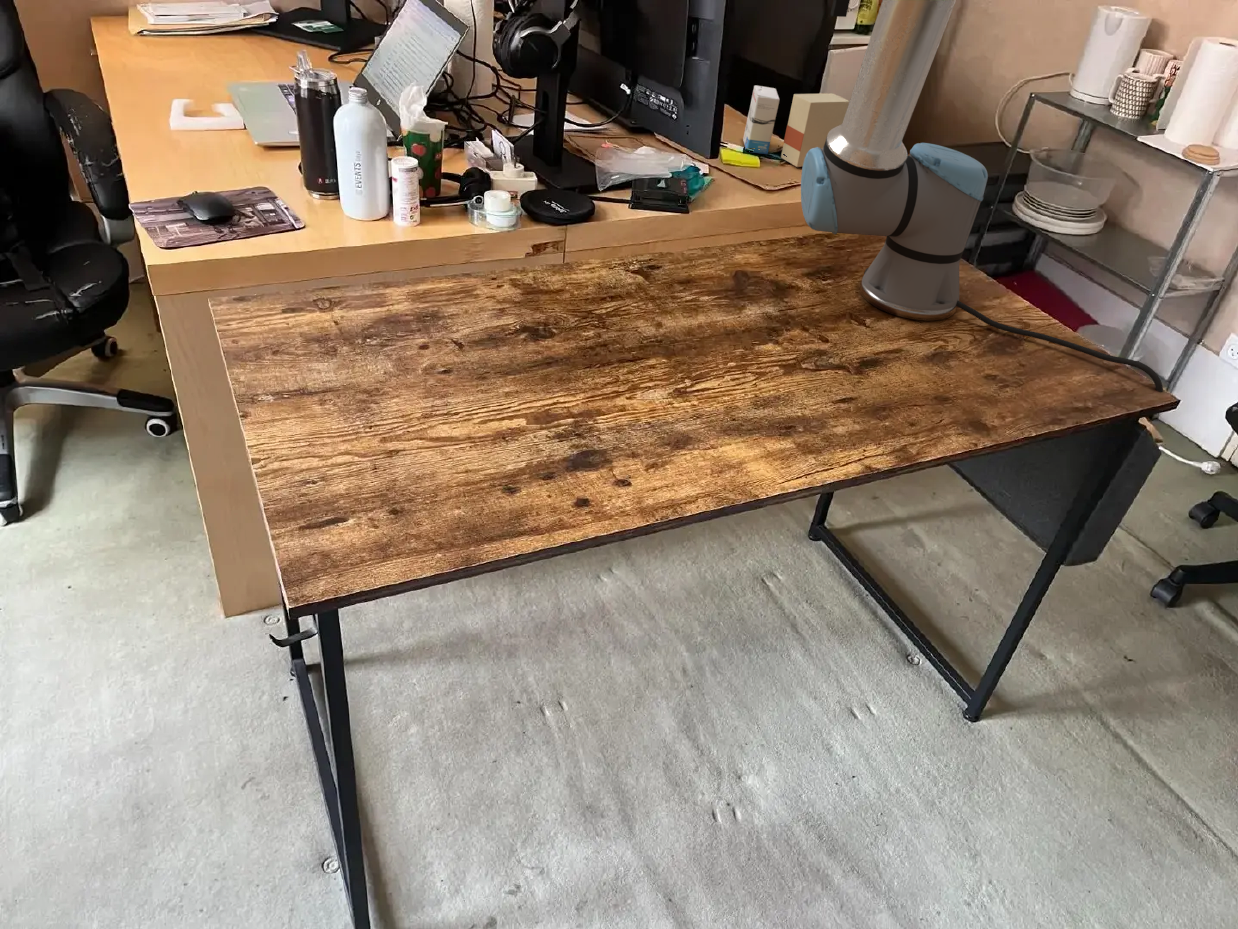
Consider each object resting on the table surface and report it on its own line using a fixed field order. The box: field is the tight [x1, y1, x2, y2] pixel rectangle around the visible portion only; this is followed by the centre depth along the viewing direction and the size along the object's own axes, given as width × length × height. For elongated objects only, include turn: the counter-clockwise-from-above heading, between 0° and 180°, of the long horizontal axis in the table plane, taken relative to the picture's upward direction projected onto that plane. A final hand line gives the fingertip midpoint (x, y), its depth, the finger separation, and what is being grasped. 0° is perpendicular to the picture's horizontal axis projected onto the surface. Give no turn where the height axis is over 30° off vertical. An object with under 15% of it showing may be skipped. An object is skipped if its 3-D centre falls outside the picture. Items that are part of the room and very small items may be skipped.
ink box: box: [742, 84, 780, 155], centre depth 193 cm, size 8×5×12 cm, turn 179°
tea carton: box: [780, 92, 850, 168], centre depth 189 cm, size 13×6×10 cm
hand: (814, 7), depth 153 cm, fingers open, 13 cm apart
